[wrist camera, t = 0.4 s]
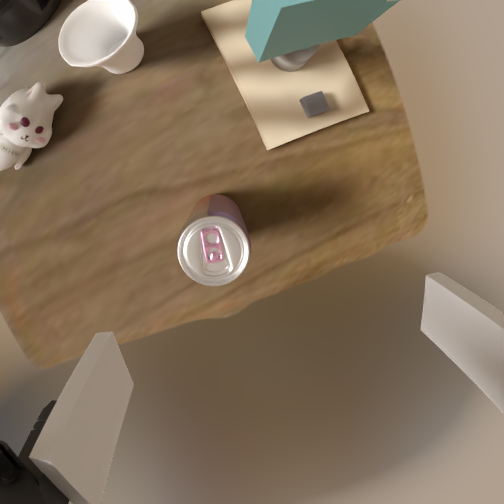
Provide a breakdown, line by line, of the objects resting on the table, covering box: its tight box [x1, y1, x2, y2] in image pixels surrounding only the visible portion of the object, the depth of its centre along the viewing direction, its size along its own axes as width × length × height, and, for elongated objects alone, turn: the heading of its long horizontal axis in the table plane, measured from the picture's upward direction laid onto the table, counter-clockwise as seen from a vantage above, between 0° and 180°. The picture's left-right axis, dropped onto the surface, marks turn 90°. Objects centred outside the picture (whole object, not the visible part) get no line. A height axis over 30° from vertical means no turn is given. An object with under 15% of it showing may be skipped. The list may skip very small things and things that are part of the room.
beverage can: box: [177, 194, 251, 286], centre depth 31 cm, size 6×6×15 cm
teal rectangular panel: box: [245, 0, 400, 63], centre depth 20 cm, size 3×11×13 cm, turn 114°
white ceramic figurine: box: [0, 82, 63, 171], centre depth 29 cm, size 10×8×15 cm
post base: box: [201, 0, 369, 150], centre depth 30 cm, size 20×14×8 cm
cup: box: [58, 0, 144, 74], centre depth 27 cm, size 9×9×10 cm
